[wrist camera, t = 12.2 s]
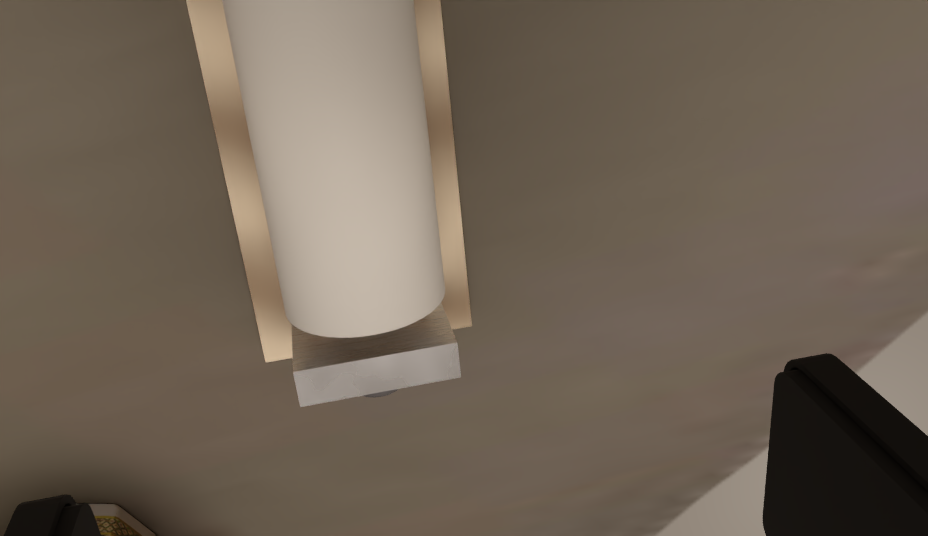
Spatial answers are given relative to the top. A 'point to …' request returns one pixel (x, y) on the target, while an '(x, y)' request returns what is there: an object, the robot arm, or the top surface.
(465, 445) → the top surface
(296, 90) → the paper roll
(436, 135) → the roll cradle
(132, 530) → the ceramic cup
